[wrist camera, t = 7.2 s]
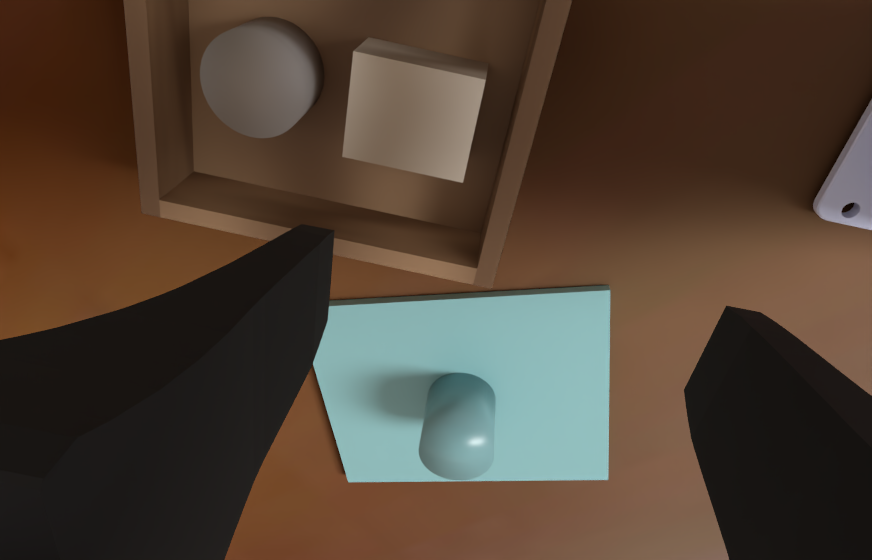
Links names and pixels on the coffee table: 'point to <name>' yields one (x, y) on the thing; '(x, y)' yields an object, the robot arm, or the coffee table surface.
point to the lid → (470, 385)
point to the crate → (344, 120)
